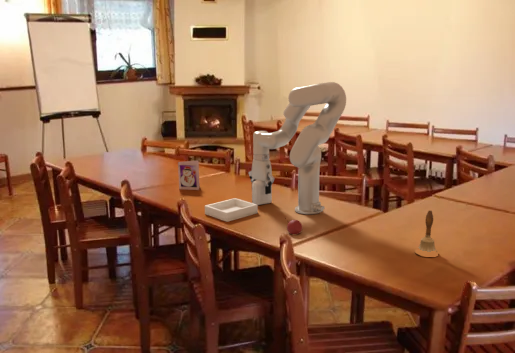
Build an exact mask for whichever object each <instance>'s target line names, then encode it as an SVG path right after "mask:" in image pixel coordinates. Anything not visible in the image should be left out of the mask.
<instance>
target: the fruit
mask: <svg viewBox="0 0 515 353" xmlns="http://www.w3.org/2000/svg"><path fill="white" fill-rule="evenodd" d="M285 220H286V221H287V225H286V226H287V227H286V230H287V232H288V233H289V234H290V235H293V234H297V235H300V234H301V233H302V231H303V225H302V222H300V220H297V219H292V220H290V221H288V220H287V218H285Z"/></svg>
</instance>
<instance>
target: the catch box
mask: <svg viewBox="0 0 515 353" xmlns="http://www.w3.org/2000/svg"><path fill="white" fill-rule="evenodd" d="M258 207H259V205H257V204H254V203H252V202H250V201H247V200H243V199H240V198H236V197H234V198H230V199H226V200H222V201H218V202H215V203H210V204H206V205H204V215H207V216H210V217H213V218H214V219H218V220H221V221H224V222H230V221H231V222H232V221H234V220H238V219H242V218H245V217H249V216H252V215H255V214H258Z"/></svg>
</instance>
